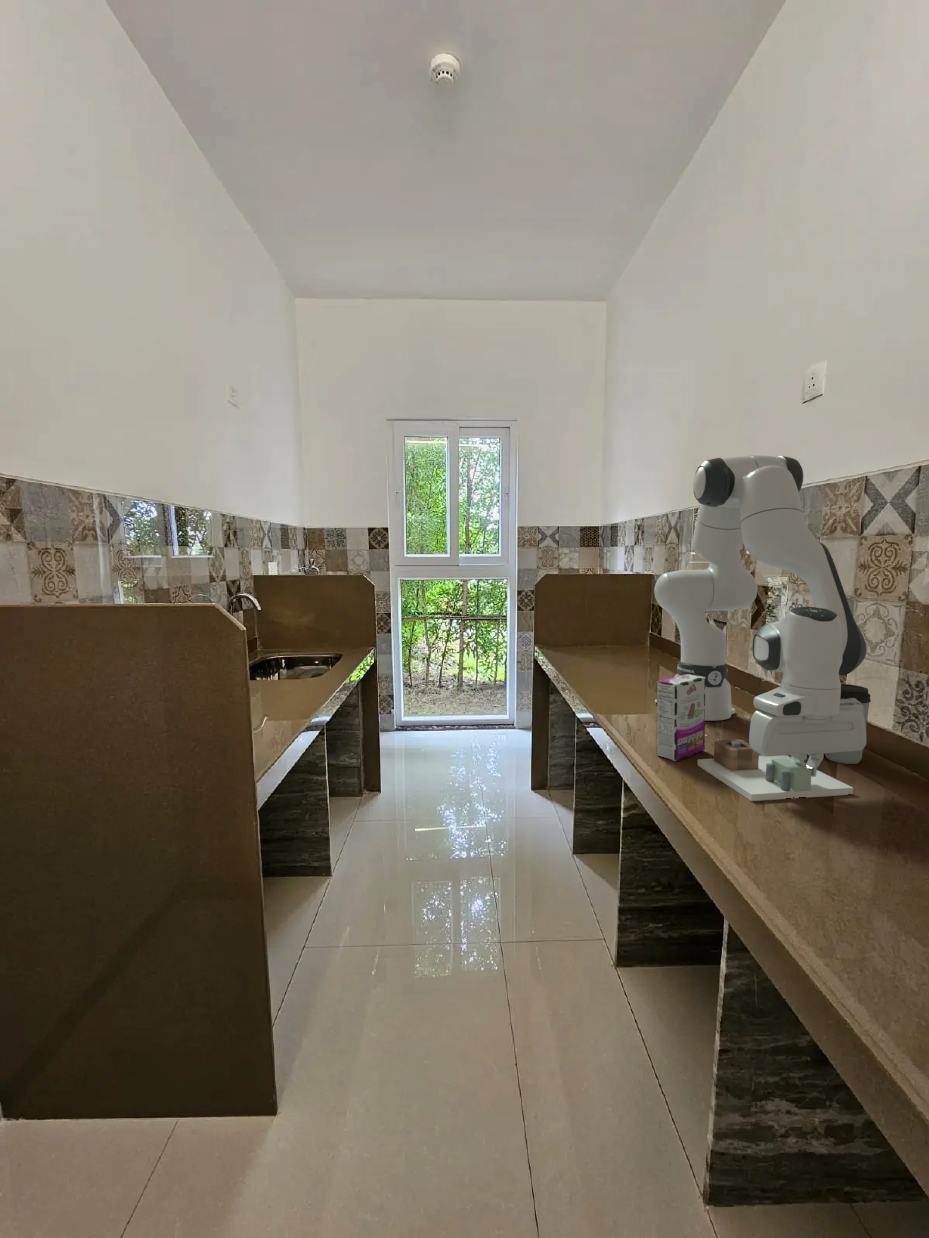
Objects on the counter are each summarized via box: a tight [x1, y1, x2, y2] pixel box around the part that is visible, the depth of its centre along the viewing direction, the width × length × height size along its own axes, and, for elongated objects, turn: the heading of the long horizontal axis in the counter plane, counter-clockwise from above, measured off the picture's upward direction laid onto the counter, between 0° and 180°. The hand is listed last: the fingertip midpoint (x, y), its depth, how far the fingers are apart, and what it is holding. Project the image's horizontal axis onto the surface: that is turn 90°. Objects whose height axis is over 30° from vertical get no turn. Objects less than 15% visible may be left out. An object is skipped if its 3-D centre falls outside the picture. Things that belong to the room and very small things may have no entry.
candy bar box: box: [656, 674, 706, 762], centre depth 115 cm, size 11×5×16 cm, turn 126°
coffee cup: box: [824, 683, 872, 765], centre depth 110 cm, size 8×8×15 cm
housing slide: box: [772, 759, 811, 791], centre depth 96 cm, size 6×3×4 cm, turn 6°
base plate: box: [697, 741, 854, 802], centre depth 101 cm, size 17×19×6 cm
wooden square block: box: [713, 739, 760, 771], centre depth 105 cm, size 6×6×4 cm
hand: (806, 776), depth 96 cm, fingers closed
